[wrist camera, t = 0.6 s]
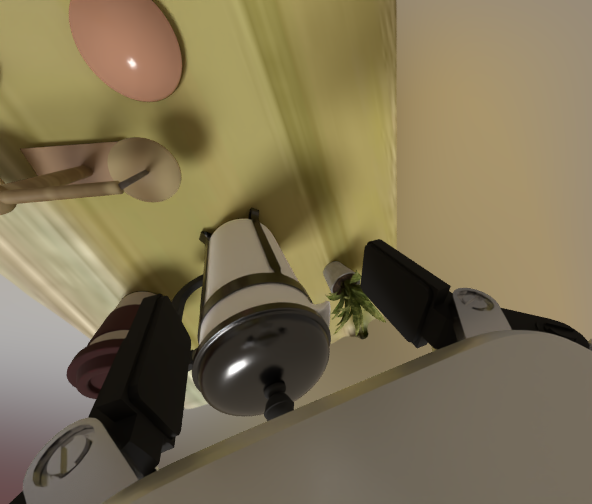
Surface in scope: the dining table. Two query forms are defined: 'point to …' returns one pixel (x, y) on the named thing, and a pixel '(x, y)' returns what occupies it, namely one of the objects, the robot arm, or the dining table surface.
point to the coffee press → (254, 324)
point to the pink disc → (128, 46)
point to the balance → (95, 173)
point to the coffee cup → (104, 347)
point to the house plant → (348, 295)
